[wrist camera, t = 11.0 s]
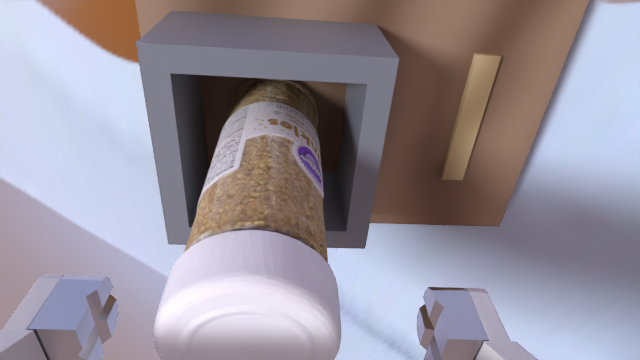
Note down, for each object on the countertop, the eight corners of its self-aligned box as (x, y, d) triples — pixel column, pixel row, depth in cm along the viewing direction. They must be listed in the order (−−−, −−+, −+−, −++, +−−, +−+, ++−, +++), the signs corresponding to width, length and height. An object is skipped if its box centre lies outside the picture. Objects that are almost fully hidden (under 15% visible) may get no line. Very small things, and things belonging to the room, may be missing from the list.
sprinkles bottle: (336, 112, 21) (383, 345, 10) (277, 169, 23) (261, 423, 12) (266, 50, 19) (227, 253, 8) (208, 117, 21) (109, 362, 10)
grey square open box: (376, 24, 19) (399, 58, 15) (352, 188, 24) (364, 248, 20) (171, 10, 18) (135, 42, 14) (191, 182, 23) (168, 244, 19)
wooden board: (578, -26, 20) (601, -20, 18) (489, 211, 27) (501, 229, 26) (137, -62, 18) (123, -58, 16) (174, 202, 26) (167, 220, 24)
